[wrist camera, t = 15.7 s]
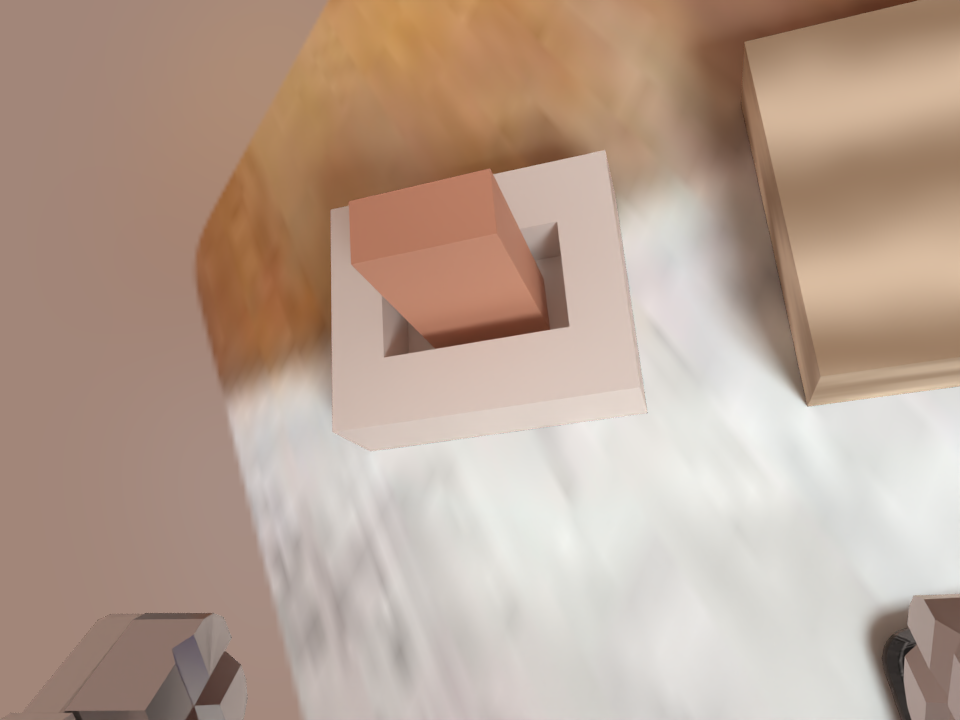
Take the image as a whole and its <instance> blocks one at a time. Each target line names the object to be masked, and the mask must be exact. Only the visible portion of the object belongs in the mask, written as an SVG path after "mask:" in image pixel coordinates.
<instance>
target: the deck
mask: <svg viewBox="0 0 960 720" xmlns="http://www.w3.org/2000/svg"><path fill="white" fill-rule="evenodd" d="M741 106H742V110H743V115H744V119H745V124H746V128H747V133H748V137H749V142H750V147H751V151H752V156H753V160H754V165H755V169H756V174H757V179H758V183H759V188H760V192H761V197H762V201H763V206H764V210H765V215H766V220H767V224H768V229H769V233H770V238H771V242H772V247H773V251H774V256H775V261H776V265H777V270H778V274H779V279H780V283H781V288H782V292H783V297H784V302H785V306H786V311H787V315H788V320H789V324H790V329H791V333H792V338H793V343H794V347H795V352H796V356H797V361H798V365H799V370H800V375H801V379H802V384H803V388H804V393H805V397H806V402H807V406H816V405H823V404H831V403H838V402H846V401H853V400H860V399H868V398H875V397H883V396H890V395H898V394H905V393H913V392H920V391H928V390H935V389H943V388H950V387H958V386H960V0H918V1H914V2H910V3H905V4H901V5H897V6H893V7H889V8H884V9H880V10H876V11H872V12H868V13H863V14H859V15H855V16H851V17H847V18H842V19H838V20H834V21H830V22H826V23H821V24H817V25H813V26H809V27H805V28H800V29H796V30H792V31H788V32H784V33H779V34H775V35H771V36H767V37H763V38H758V39H754V40H750V41H746V42H744V56H743V74H742V92H741Z"/></svg>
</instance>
